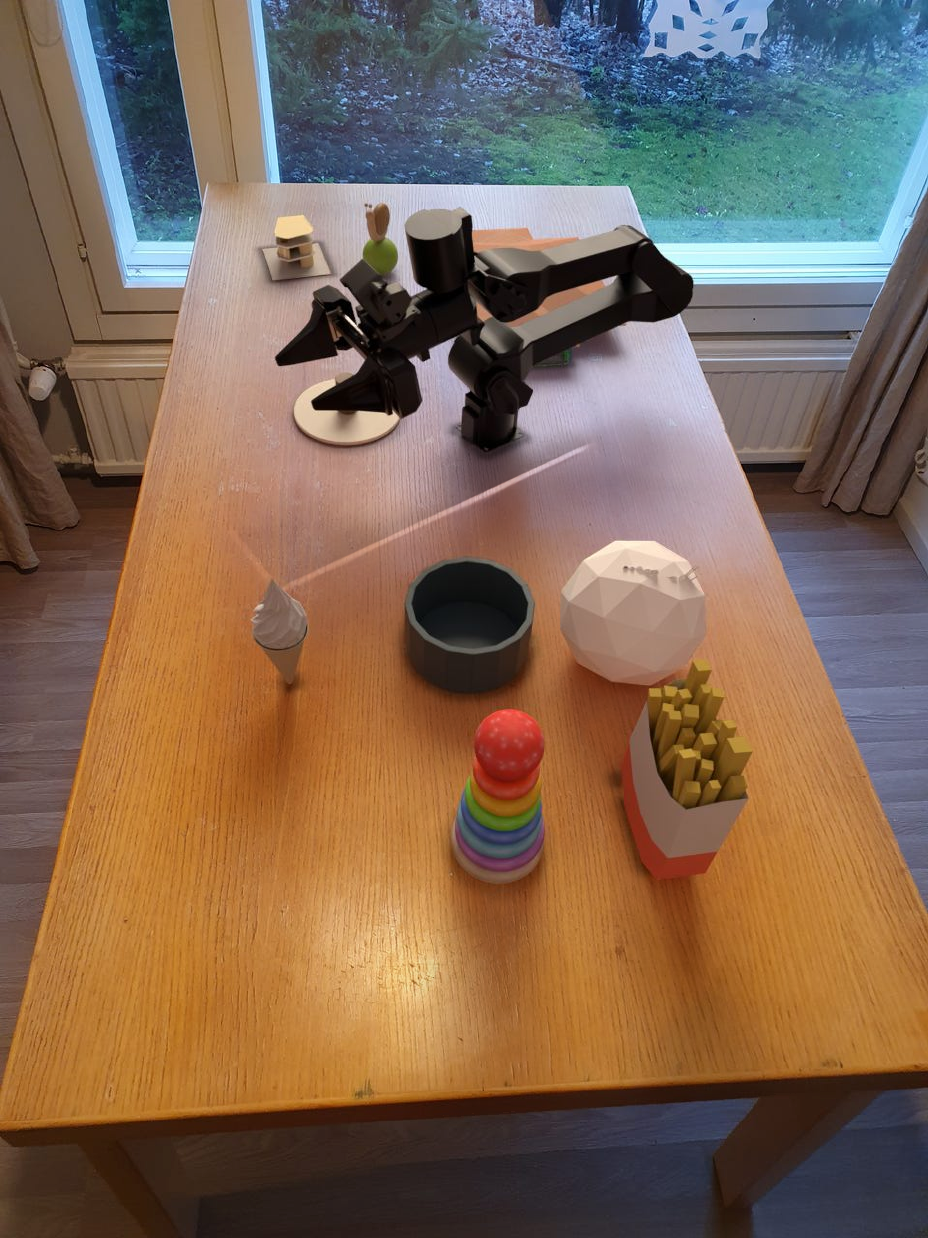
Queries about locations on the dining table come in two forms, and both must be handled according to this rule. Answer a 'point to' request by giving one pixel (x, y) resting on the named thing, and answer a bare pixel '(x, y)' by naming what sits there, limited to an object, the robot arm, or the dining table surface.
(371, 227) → the snail figurine
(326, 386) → the round peg stand
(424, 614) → the container
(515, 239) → the house
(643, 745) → the french fries container
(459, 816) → the stacking toy
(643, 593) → the geodesic sphere
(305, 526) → the dining table surface
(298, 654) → the ice cream cone
